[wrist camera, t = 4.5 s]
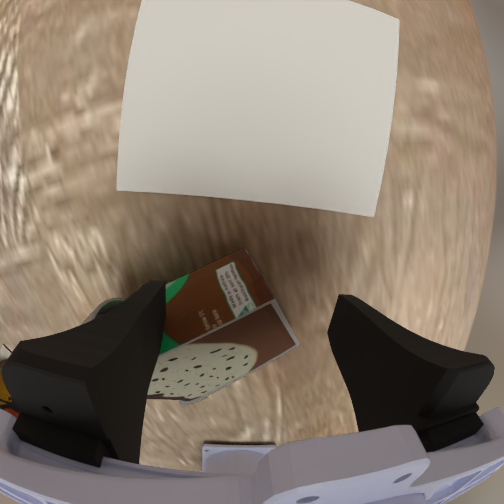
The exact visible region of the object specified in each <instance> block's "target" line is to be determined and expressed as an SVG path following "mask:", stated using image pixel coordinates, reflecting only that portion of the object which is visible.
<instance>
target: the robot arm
mask: <svg viewBox="0 0 504 504" xmlns="http://www.w3.org/2000/svg"><path fill="white" fill-rule="evenodd" d="M165 319H166V282H163V281H153V280H151V281H149V282H148V283H147V284H145V285H144V286H143V287H142V288H140V289H139V290H138V291H137V292H135V293H134V294H133V295H131V296H130V297H129V298H127V299H126V300H125V301H123V302H122V303H120V304H119V305H117V306H116V307H114V308H113V309H111V310H110V311H108V312H106V313H105V314H103V315H101V316H99V317H97V318H95V319H93V320H91V321H89V322H87V323H85V324H82V325H80V326H77V327H75V328H72V329H70V330H67V331H64V332H61V333H57V334H54V335H50V336H46V337H41V338H36V339H30V340H24V341H20V342H19V344H18V345H17V346H16V348H15V349H14V350H13V352H12V353H11V355H10V356H9V357H8V359H7V360H6V362H5V363H4V364H3V366H2V370H1V373H2V379H3V382H4V384H5V386H6V388H7V390H8V392H9V394H10V395H11V397H12V399H13V401H14V402H15V404H16V406H17V407H18V409H19V411H20V413H19V415H18V417H17V418H16V417H14V416H13V415H12V414H10V413H8V412H6V411H4V410H2V409H0V492H1V493H3V494H4V495H6V496H8V497H10V498H12V499H13V500H15V501H17V502H19V503H21V504H445V503H447V502H449V501H451V500H452V499H454V498H456V497H458V496H459V495H461V494H463V493H465V492H466V491H468V490H469V489H471V488H473V487H474V486H476V485H478V484H479V483H481V482H482V481H484V480H486V479H487V478H488V477H490V476H491V475H492V474H493V473H494V472H495V471H497V470H498V469H499V468H500V467H501V466H502V465H503V464H504V414H503V412H502V411H501V409H500V408H499V407H496V408H493V409H491V410H489V411H487V412H485V413H483V414H482V415H481V416H478V415H477V413H476V412H477V411H478V410H479V406H478V405H477V403H476V401H477V400H478V399H479V397H480V396H481V395H482V393H483V392H484V390H485V389H486V387H487V386H488V385H489V383H490V381H491V379H492V377H493V375H494V369H495V368H494V365H493V364H492V363H491V361H490V360H489V359H488V358H487V357H486V356H484V355H479V354H475V353H469V352H464V351H460V350H457V349H453V348H450V347H446V346H443V345H441V344H438V343H435V342H433V341H430V340H428V339H426V338H423V337H421V336H419V335H417V334H415V333H413V332H411V331H409V330H407V329H406V328H404V327H402V326H400V325H399V324H397V323H395V322H394V321H392V320H391V319H389V318H387V317H386V316H384V315H383V314H381V313H380V312H378V311H377V310H375V309H374V308H372V307H371V306H369V305H368V304H366V303H365V302H363V301H362V300H360V299H358V298H357V297H355V296H353V295H343V294H339V296H338V299H337V303H336V306H335V309H334V313H333V316H332V319H331V322H330V325H329V329H328V332H327V333H328V337H329V342H330V346H331V349H332V352H333V355H334V357H335V360H336V362H337V365H338V367H339V369H340V372H341V374H342V376H343V379H344V381H345V383H346V386H347V388H348V391H349V394H350V397H351V400H352V404H353V408H354V412H355V416H356V420H357V425H358V430H359V432H357V433H350V434H343V435H335V436H327V437H317V438H309V439H304V440H299V441H293V442H288V443H286V444H284V445H281V446H279V447H277V446H276V445H219V444H203V445H202V472H195V471H184V470H174V469H166V468H159V467H152V466H146V465H140V464H139V457H140V445H141V435H142V427H143V419H144V412H145V406H146V400H147V394H148V389H149V385H150V382H151V379H152V375H153V372H154V369H155V366H156V363H157V360H158V357H159V353H160V349H161V344H162V339H163V331H164V324H165Z"/></svg>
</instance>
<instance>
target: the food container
mask: <svg viewBox="0 0 504 504" xmlns="http://www.w3.org/2000/svg"><path fill="white" fill-rule="evenodd" d="M123 301H125V300H124V299H121V298H112V299H108V300H105V301H104V302H103V303H101V304H100V305H99V306H98V307H97V308H96V309H95V310H94V311H93V312H92V313H91V314H90V315H89V316H88V317H87V319H86V320H85V321H84V322H83V323H82V324H85V323H87V322H89V321H91V320H93V319H95V318H97V317H99V316H101V315H103V314H105V313H106V312H108V311H110V310H111V309H113V308H114V307H116V306H117V305H119V304H120V303H122V302H123ZM299 345H300V343H299V342H298V340H297V338H296V336H295V334H294V332H293V331H292V329H291V327H290V325H289V323H288V321H287V319H286V318H285V316H284V314H283V312H282V310H281V308H280V306H279V305H278V303H277V301H276V299H275V297H274V296H273V294H272V292H271V290H270V289H269V287H268V285H267V284H266V282H265V280H264V279H263V277H262V275H261V273H260V272H259V270H258V268H257V267H256V265H255V263H254V262H253V260H252V258H251V257H250V255H249V253H248V252H247V250H246V248H245V247H244V248H242V249H240V250H238V251H236V252H234V253H231V254H229V255H227V256H225V257H223V258H221V259H219V260H217V261H214V262H212V263H210V264H208V265H206V266H204V267H202V268H200V269H198V270H195V271H193V272H191V273H189V274H187V275H185V276H183V277H181V278H179V279H177V280H174V281H172V282H170V283H168V284H166V319H165V324H164V331H163V339H162V344H161V349H160V353H159V357H158V360H157V363H156V366H155V369H154V372H153V375H152V379H151V382H150V385H149V389H148V394H147V399H171V400H179V402H180V404H181V406H182V407H184V406H186V405H189V404H193V403H195V402H198V401H200V400H203V399H205V398H208V397H207V395H210V394H212V393H214V392H216V391H218V390H220V389H222V388H224V387H225V386H227V385H229V384H231V383H233V382H235V381H237V380H239V379H241V378H243V377H245V376H246V375H248V374H250V373H252V372H254V371H256V370H257V369H259V368H261V367H263V366H265V365H266V364H268V363H270V362H272V361H273V360H275V359H277V358H279V357H280V356H282V355H284V354H286V353H287V352H289V351H291V350H292V349H294V348H296V347H297V346H299Z"/></svg>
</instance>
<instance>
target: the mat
mask: <svg viewBox="0 0 504 504" xmlns="http://www.w3.org/2000/svg"><path fill="white" fill-rule="evenodd" d="M398 45H399V19H396V18H394V17H392V16H389V15H387V14H384V13H382V12H379V11H377V10H374V9H372V8H369V7H366V6H363V5H360V4H358V3H355V2H352V1H348V0H142V2H141V6H140V10H139V14H138V18H137V22H136V27H135V31H134V36H133V41H132V46H131V51H130V56H129V62H128V68H127V74H126V81H125V88H124V95H123V104H122V112H121V122H120V134H119V147H118V166H117V191H135V192H152V193H168V194H181V195H194V196H206V197H217V198H228V199H238V200H248V201H257V202H266V203H275V204H283V205H292V206H300V207H307V208H315V209H322V210H330V211H337V212H344V213H350V214H357V215H363V216H370V217H374V215H375V210H376V206H377V201H378V197H379V192H380V187H381V182H382V177H383V171H384V166H385V160H386V155H387V149H388V142H389V136H390V129H391V122H392V114H393V106H394V97H395V87H396V76H397V63H398Z"/></svg>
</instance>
